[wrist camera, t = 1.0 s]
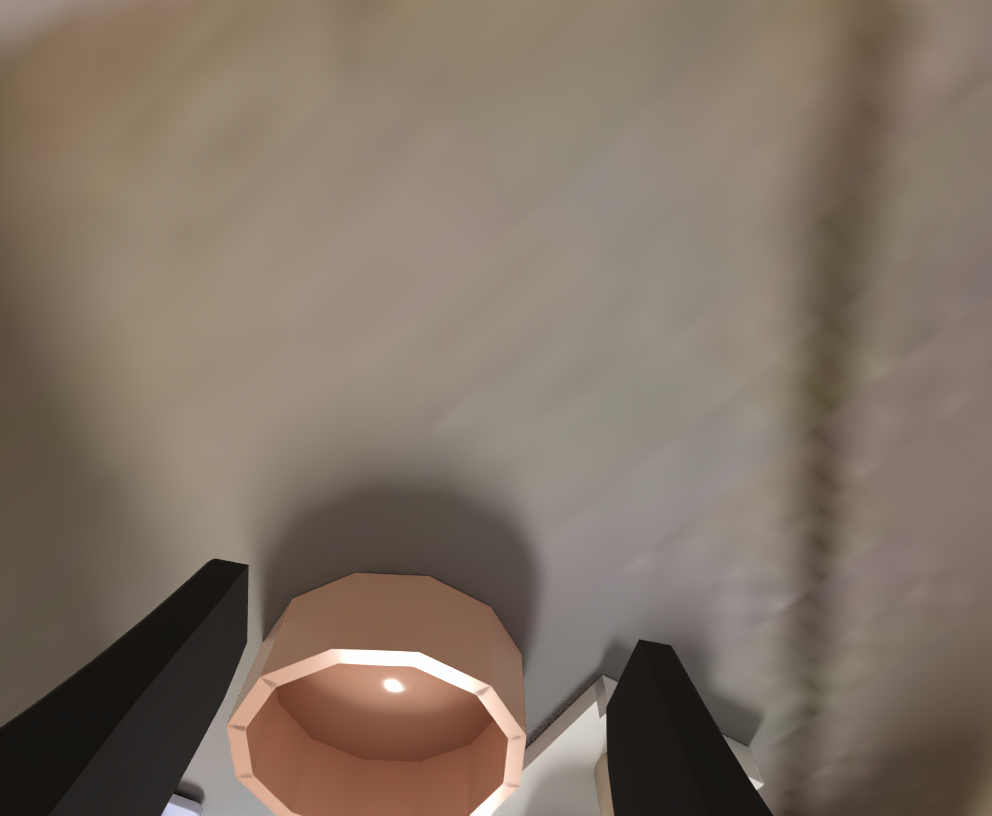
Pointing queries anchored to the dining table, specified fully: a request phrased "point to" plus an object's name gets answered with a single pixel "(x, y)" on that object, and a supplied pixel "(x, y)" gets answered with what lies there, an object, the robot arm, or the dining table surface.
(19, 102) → the dining table surface
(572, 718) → the parts tray
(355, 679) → the terracotta bowl
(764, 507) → the dining table surface
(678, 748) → the robot arm
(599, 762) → the sandstone pebble
